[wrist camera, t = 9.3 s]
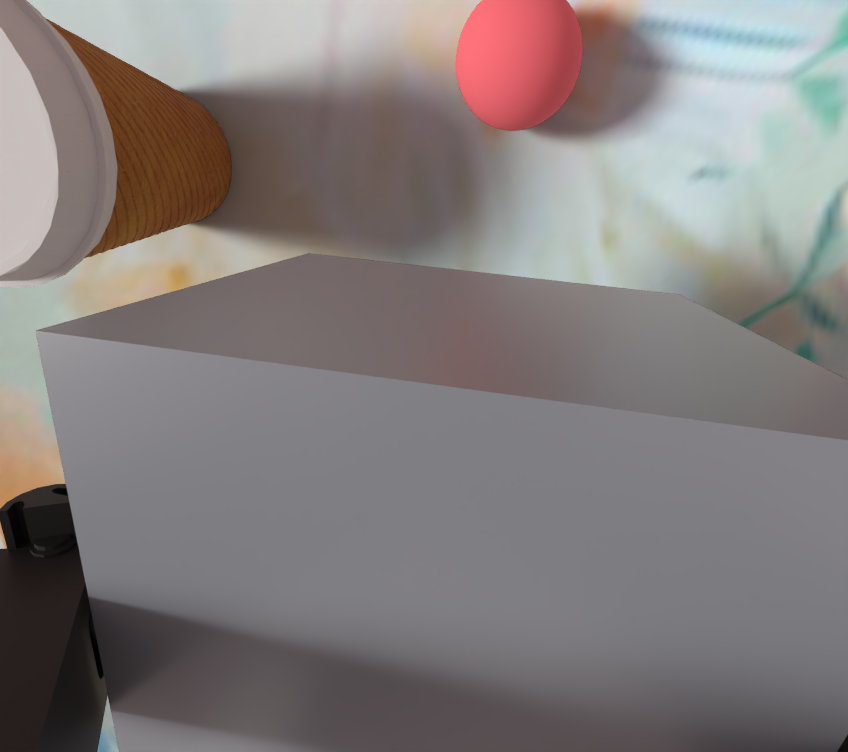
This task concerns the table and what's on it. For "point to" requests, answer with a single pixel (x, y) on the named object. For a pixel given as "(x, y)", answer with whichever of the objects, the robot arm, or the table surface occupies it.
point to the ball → (518, 60)
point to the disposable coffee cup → (92, 151)
